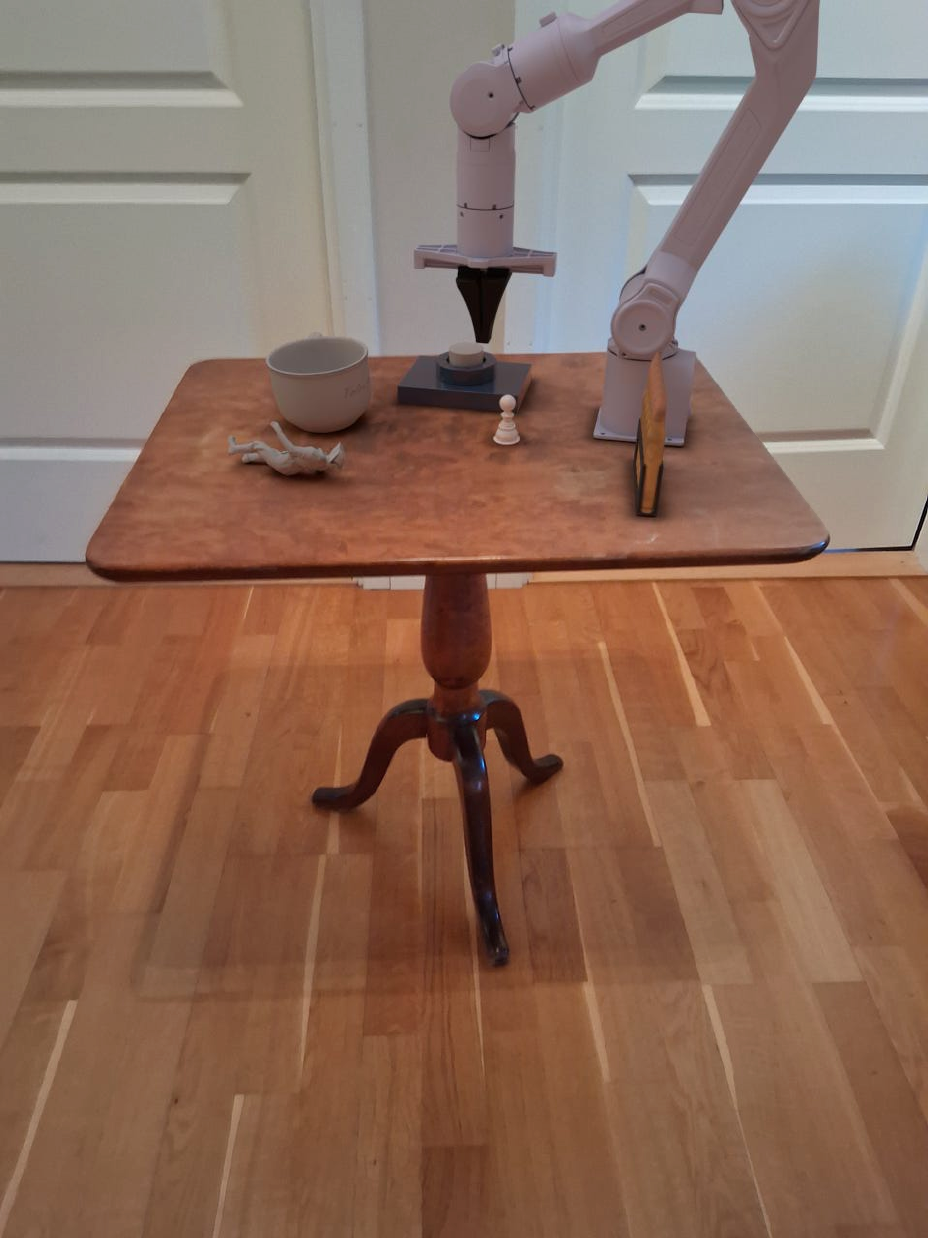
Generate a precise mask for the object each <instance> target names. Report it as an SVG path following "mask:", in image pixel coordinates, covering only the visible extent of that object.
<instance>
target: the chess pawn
mask: <svg viewBox="0 0 928 1238" xmlns="http://www.w3.org/2000/svg"><path fill="white" fill-rule="evenodd" d="M499 404H500V407H501V409H502V410H504V412H500V417H502V419H501V420H500V422H499V423H498V427H497V429H496V431H495V433H494V436H493V438H492V439H493V441H494V442H495V443H497V444H498V445H501V446H513V445H516V444H517V443H519V442H520V441H521V438H520V437H521V436H520V435H519V432H518V430H517V428H516V424H515V422H514V420H513V418H514V416H515V413H512V412H511V411H512V410H513V409H514V408H515V406H516V401H515V398H514V397H513V396H511V395H504V396H503V397H502V398H501V399H500V402H499Z"/></svg>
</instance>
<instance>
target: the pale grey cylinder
mask: <svg viewBox="0 0 928 1238" xmlns="http://www.w3.org/2000/svg"><path fill="white" fill-rule="evenodd" d="M484 349H485V348H484V346H483V345H481V343H476V342H469V341H462V342H456V343H453V344H450V345H449V347H448V351H449V364H451V365H454V366H462V367H472V366H478V365H481V364H483V352H485V351H484Z"/></svg>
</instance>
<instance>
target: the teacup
mask: <svg viewBox="0 0 928 1238" xmlns="http://www.w3.org/2000/svg"><path fill="white" fill-rule="evenodd" d="M265 365H266V367H267V369H268V370H267V371H268V374H269V380H270V384H271V388H272V389H271V390H272V394H273V396H274V401H275V404H276V407H277V409H278V411H279V413H280V415H281V416H282V417H283V418H284V419H285V420H286V421H287V422H289V423H290V424H292V425H294V426H295V427H297V428H299V429H300V430H303V431H305V432H309V433H317V434H321V433H323V434H326V433H333V432H338V431H342V430H344V429H346V428H349V427H350V426H352V425H353V424H354V423H356V421H357V420H358V419H359V418H360V417H361V416H362V415H363V414H364V413H365V412H366V410H367V409H368V407H369V405H370V402H371V394H372V391H371V390H372V388H371V376H370V374H371V373H370V365H369V348H368V346H367V345H366V344H365V343H364V342H362V341H361V340H359V339H356V338H352V337H347V336H340V335H338V336H336V335H326V336H325V335H323V334H322V333H321V332H318V331H316V332H310V333H309V334H308V337H306V338H301V339H296V340H292V341H290V342H289V341H288V342H286V343H284V344H282V345H280V346H278V347H276V348H274V349H273V350H272V351H270V352H269V354H267V356H266V358H265Z"/></svg>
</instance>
